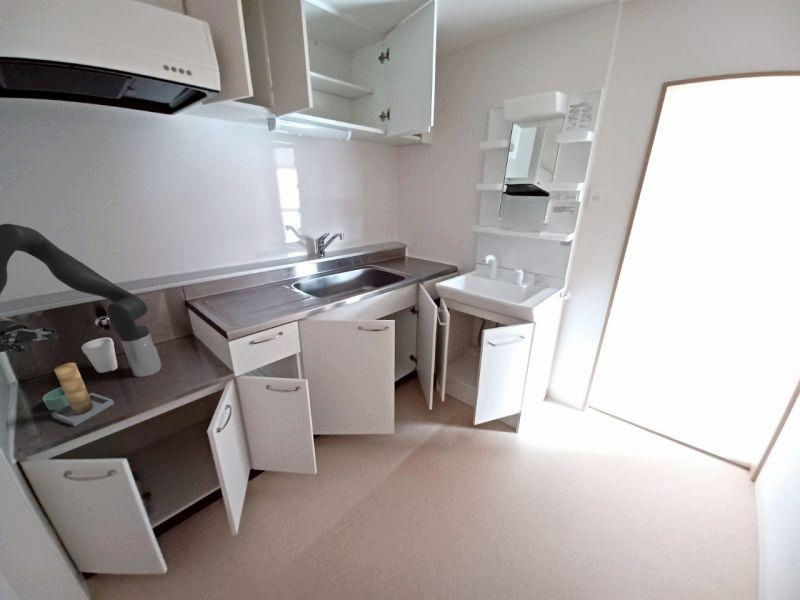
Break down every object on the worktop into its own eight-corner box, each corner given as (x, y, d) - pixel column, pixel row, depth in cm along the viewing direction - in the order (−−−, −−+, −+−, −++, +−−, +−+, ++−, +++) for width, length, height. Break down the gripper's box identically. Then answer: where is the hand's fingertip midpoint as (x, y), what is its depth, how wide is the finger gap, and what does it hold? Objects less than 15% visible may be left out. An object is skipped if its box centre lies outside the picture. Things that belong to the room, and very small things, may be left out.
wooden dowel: (82, 405, 111) (63, 362, 104) (97, 404, 111) (79, 362, 105) (70, 415, 106) (49, 371, 100) (85, 414, 107) (66, 370, 100)
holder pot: (62, 397, 116) (56, 386, 114) (84, 396, 117) (79, 385, 115) (42, 412, 109) (36, 400, 107) (66, 410, 110) (60, 399, 108)
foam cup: (119, 360, 139) (109, 335, 134) (124, 368, 134) (114, 342, 129) (91, 370, 132) (79, 343, 127) (95, 378, 127) (83, 351, 122)
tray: (54, 419, 106) (51, 413, 105) (94, 397, 116) (91, 392, 115) (75, 427, 102) (72, 421, 102) (114, 404, 113) (112, 399, 112)
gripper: (-30, 327, 98) (8, 343, 96) (30, 314, 112) (65, 327, 109) (-25, 348, 101) (12, 363, 98) (34, 332, 114) (68, 345, 112)
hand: (40, 344), depth 104 cm, fingers open, 8 cm apart
